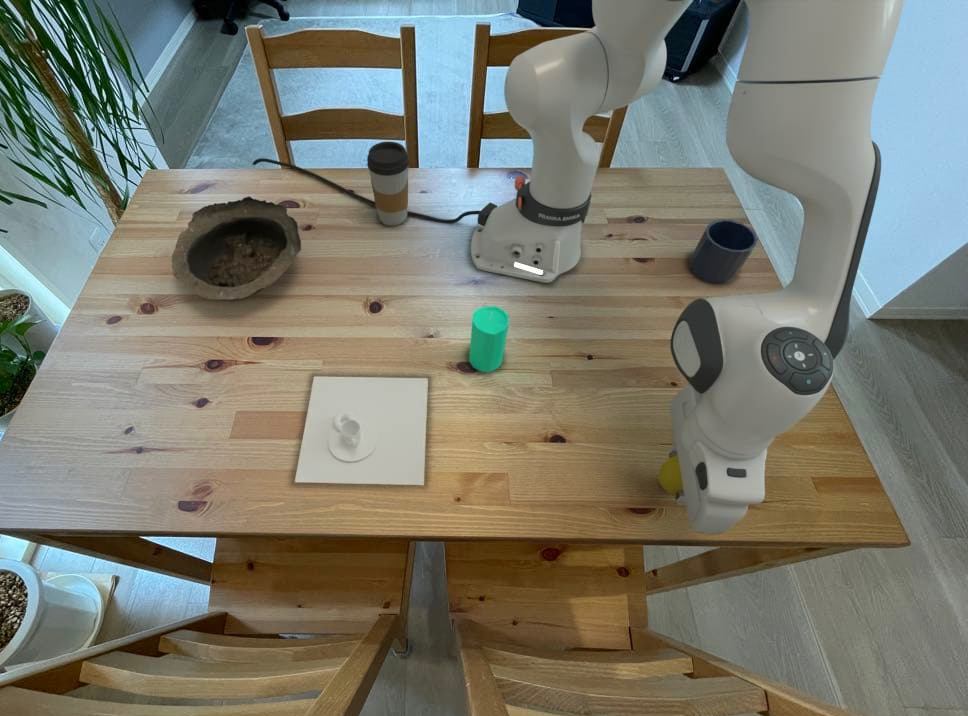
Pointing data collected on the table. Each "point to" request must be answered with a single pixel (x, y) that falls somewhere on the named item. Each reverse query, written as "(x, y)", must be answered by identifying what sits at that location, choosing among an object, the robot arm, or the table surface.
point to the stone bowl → (235, 248)
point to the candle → (488, 338)
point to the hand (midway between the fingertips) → (677, 478)
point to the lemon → (671, 476)
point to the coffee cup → (389, 181)
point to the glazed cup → (722, 251)
